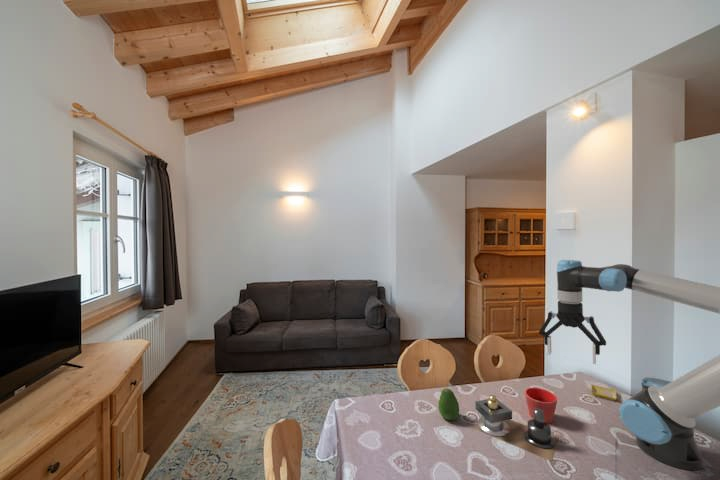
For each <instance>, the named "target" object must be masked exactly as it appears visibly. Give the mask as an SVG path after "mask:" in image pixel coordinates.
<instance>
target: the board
mask: <svg viewBox="0 0 720 480" xmlns="http://www.w3.org/2000/svg"><path fill="white" fill-rule="evenodd" d="M481 417H483V416H481ZM504 422H506V423H507V424H508V426H509V428H510V432H509V434H508V435H507V436H504V437H495V436H491V435H489V436H491V437H493V438H495V439H497V440H500V441H502V442H504V443H506V444H510V445H512V446H515V447H517V448H519V449H522V450H523V451H526V452H528V453H531V454H533V455H536V456H538V457H540V458H543V459H546V460H547V461H549V462H552V461H553V459H554V455H555V453H556V448H557V444H558V442H559V436H555V435H553V434H551V437H552V438H553V440H554V442H555V445H554V447H553V448H551V449H542V448H538V447H536V446H534V445H532V444H530V443H529V442H528V441H527V440H526V438H525V432H526V431H527V430H528V425H526V424H523V423H521V422H518V421H514V420H513V419H510V420H505V421H504ZM474 429H475V430H477V431H479V432H482V433H484V434H486V433H485V432H483V431H482V430H481V429H480V428H479V426H478V422H477V423H476V424H475V425H474V427H473V430H474Z"/></svg>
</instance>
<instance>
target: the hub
mask: <svg viewBox="0 0 720 480" xmlns="http://www.w3.org/2000/svg"><path fill="white" fill-rule="evenodd" d="M487 399H488V408H489V409H490V410H491V411H495V410H498V401H497V400H496V399H497V397H496V395H493V394H489V398H487ZM477 423H478V426H479V428H480V429H481V430H482V431H483V432H485V433H484V434H486V435H488V436H490V435H491V437H493V436H495V437H504V436H507V435H508V434H509V432H510V428H509V426H508V424H507V423H506V422H504V421H500V422H496V423H490V422H489V421H488V420H487V419H486V418H485V417H484V416H483V417H482V416H481V417H479V418H478V420H477ZM483 432H482V433H483ZM495 437H494V438H495Z"/></svg>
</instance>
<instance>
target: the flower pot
mask: <svg viewBox="0 0 720 480" xmlns="http://www.w3.org/2000/svg"><path fill="white" fill-rule="evenodd" d="M524 393H525V394H524V395H525V399H526V401H525V402H526V406H527V410H528V414H529V416H530V418H531V419H534V408H540V409H542V410H543V411H544V422H545V423H547V424H550V423H553V421H554V418H555V413H556V409H557V402H558V398H557V395H555V394H554V393H553V392H551V391H549V390H547V389H544V388H539V387H528V388H526V389H525V391H524Z"/></svg>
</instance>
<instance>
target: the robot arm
mask: <svg viewBox="0 0 720 480" xmlns="http://www.w3.org/2000/svg"><path fill="white" fill-rule="evenodd" d="M582 264H583V263H582V261H581V260H575V259H562V260H559V261H557V266H556V277H557V300H558V301H557V312H553V311H548V313H547V318H546V320H545V322H544V323H543V324H542V326H541V328H540V330H539V331H538V334H539V335H541V336H543V338H544V340H543V342H544V346H545V345H546V346H547V355H551V354H552V335H551V334H553V333H554V332H555V331H556V330H557V329H559V328H560V327H561V326H562V325H563V326H565V327H566V328H567V327H570V328H579V330H580V331H581V332H582V333H584V334H585V336H586V337H587V338H588V339H589V340H590V341H591V342H592V364H593V365H596V363H597V356H599V355H600V354H601V347H602V346H607V341H606V339H605V337H604V336H603V334H602V332H601V331H600V329H599V327H598V326H597V324H596V323H595V318H594V316H591V315H590V316H584V311H583V310H584V309H583V303H582V302H583V288H585V289H592V290H601V291H606V292H618V293H619V292H623V291H624V289H626V290H627V289H628V290H632V291H636V292H639V293H643V294H647V295H650V296H655V297H657V298H661V299H665V300H669V301H672V302H675V303H678V304H679V303H680V304H682V305H687V306H690V307H694V308H696V309H700V310H705V311H708V312H712V313H716V314H719V315H720V287H719V286H715V285H710V284H706V283H703V282H698V281H693V280H689V279H684V278H679V277H675V276H670V275H665V274H661V273H657V272H652V271H648V270H643V269H639V268H635V267H633V266H631V265H630V264H622V263H618V264H614V265H610V266H602V267H594V266H593V267H591V266H584V265H582ZM555 317H556V318H557V319H558V322H556V323H555V324H554V325H553V326H552V327H550V328H549V329H548V330H546V329H547V327H548V325H549V323H550V322H551V321H552V319H554V318H555ZM584 321H586V323H587V324H589V325H590V327H591V329H592V330H593V332H594V333H595V334H594V335H593V333H592V332H591V331H590V330H589V329H587V327H586V326H585V324H583V322H584ZM545 330H546V331H545ZM595 335H596V337H597V338H596V337H595ZM640 384H641V390H640V391H639V392H637V393H636V394H634V395H633V396H631V397H629V398H628V399H625V400H624V401H623V402H622V403H621V405H620V406H619V416H620V419H621V422H622V423H623V424H624V426H625V427H626V428H627V430H629V432H630V433H632V434H633V435H634V436H635V443H636V445H637V446H638V447H639V448H640V450H641V451H643V452H644V453H646V454H647V455H648V456H649V457H651V458H653V459H655V460H657V461H659V462H661V463H664V464H666V465H667V466H671V467H674V468H678V469H682V470H687V471H688V470H689V471H697V470H700V469H702V468H703V467H704V466H703V465H704V458H703V456H702V455H703V454H702V453H701V450H700V448H699V446H698V443H697V441H696V439H695V426H696V418H697V417H699V416H701V415H704V414H706V413H708V412H710V411H713V410H714V409H717V408H719V407H720V354H718V355H717V356H714V357H713V358H712V359H710V360H708V361H706V362H704V363H703V364H701V365H699V366H697V367H695V368H694V369H692V370H690V371H688V372H687V373H685V374H683V375H681V376H679V377H678V378H675V380H673V381H669V380H665V379H662V378H656V377H643V378H642V379H641V383H640Z"/></svg>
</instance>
